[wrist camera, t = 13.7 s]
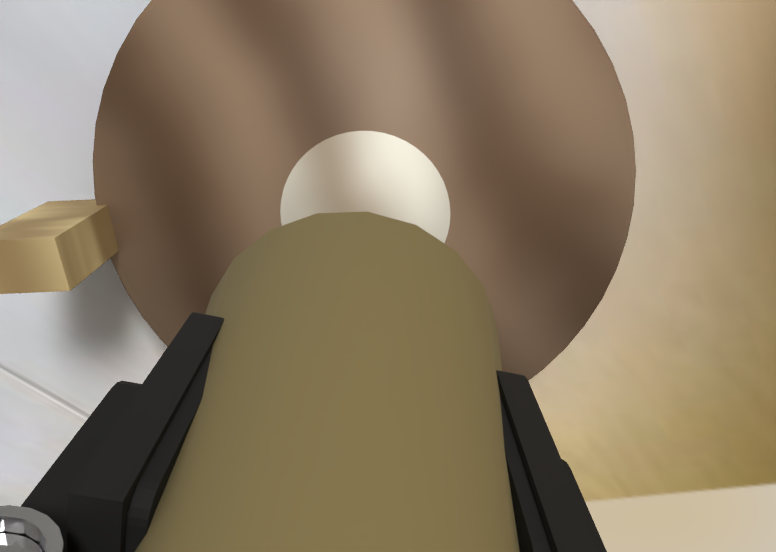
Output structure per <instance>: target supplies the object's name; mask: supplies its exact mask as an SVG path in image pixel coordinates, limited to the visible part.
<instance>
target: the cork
mask: <svg viewBox="0 0 776 552" xmlns="http://www.w3.org/2000/svg"><path fill="white" fill-rule="evenodd" d="M205 314H207V315H212V316H217V317H222V318H224V322H223V324H222V326H221V329H220V331H219V333H218V335H217V338H216V340H215V342H214V344H213V348H212V353H211V358H210V363H209V368H208V373H207V377H206V382H205V387H204V392H203V397H202V400H201V402H200V404H199V407H198V409H197V412H196V414H195V417H194V419H193V421H192V424H191V426H190V429H189V431H188V433H187V436H186V438H185V441H184V443H183V445H182V448H181V450H180V453H179V455H178V458H177V460H176V462H175V465H174V467H173V470H172V472H171V474H170V477H169V479H168V482H167V484H166V487H165V489H164V491H163V494H162V496H161V499H160V501H159V503H158V506H157V508H156V511H155V513H154V516H153V519H152V521H151V524H150V526H149V529H148V532H147V534H146V536H145V537H144V539H143V540H142V541H141V543H140V544H139V546H138V547H137V549H136V550H135V552H520V549H519V542H518V536H517V529H516V522H515V516H514V509H513V502H512V496H511V489H510V483H509V476H508V469H507V463H506V456H505V448H504V436H503V424H502V413H501V401H500V390H499V385H498V379H497V373H496V370H499V371H502V364H501V356H500V348H499V339H498V331H497V325H496V322H495V319H494V316H493V313H492V310H491V307H490V303H489V300H488V297H487V294H486V291H485V288H484V286H483V285H482V283H481V282H480V281H479V279H478V278H477V277H476V276H475V274H474V273H473V272H472V271H471V269H470V268H469V267H468V265H467V264H466V263H465V262H464V260H463V259H462V258H461V256H460V255H459V254H458V253H457V251H455V250H454V249H452V248H451V247H449V246H448V245H446V244H445V243H443V242H442V241H440V240H438V239H437V238H435V237H434V236H432V235H431V234H429V233H428V232H426V231H425V230H423V229H422V228H420V227H419V226H417V225H415V224H411V223H407V222H404V221H400V220H396V219H393V218H389V217H386V216H382V215H378V214H375V213H371V212H340V213H316V214H313V215H311V216H308V217H305V218H302V219H299V220H297V221H294V222H291V223H288V224H285V225H283V226H280V227H277V228H274V229H272V230H269V231H268V232H267V233H266V234H264V235H263V236H262V237H261V238H259V239H258V240H257V241H256V242H254V243H253V244H252V245H251V246H249V247H248V248H247V249H246V250H244V251H243V252H242V253H241V254H239V255H238V256H237V257H236V258H234V259H233V261H232V263H231V264H230V266H229V267H228V269H227V271H226V272H225V274H224V276H223V277H222V279H221V281H220V282H219V284H218V285H217V287H216V289H215V290H214V292H213V294H212V295H211V298H210V301H209V304H208V307H207V310H206V313H205Z"/></svg>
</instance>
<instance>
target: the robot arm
mask: <svg viewBox="0 0 776 552" xmlns="http://www.w3.org/2000/svg"><path fill="white" fill-rule="evenodd" d="M223 322H224V318H222V317H217V316H212V315H207V314H201V313H196V312H192V313H191V314H190V316H189V317H188V319H187V320H186V321H185V323H184V324H183V326H182V327H181V329H180V330H179V332H178V333H177V335H176V336H175V337H174V339H173V340H172V342H171V343H170V345H169V346H168V348H167V349H166V350H165V352H164V353H163V355H162V356H161V358H160V359H159V361H158V362H157V364H156V365H155V366H154V368H153V369H152V371H151V372H150V374H149V375H148V377H147V378H146V380H145V381H144V382H143V384H138V383H132V382H126V381H120V382H117V383H116V384H115V385H114V386H113V387H112V388H111V390H110V391H109V392H108V393H107V395H106V396H105V397H104V399H103V400H102V401H101V403H100V404H99V405H98V406H97V408H96V409H95V410H94V412H93V413H92V414H91V416H90V417H89V418H88V419H87V421H86V422H85V423H84V425H83V426H82V427H81V429H80V430H79V431H78V432H77V434H76V435H75V436H74V438H73V439H72V440H71V442H70V443H69V444H68V446H67V447H66V448H65V449H64V451H63V452H62V453H61V455H60V456H59V457H58V459H57V460H56V461H55V462H54V464H53V465H52V466H51V468H50V469H49V470H48V472H47V473H46V474H45V475H44V477H43V478H42V479H41V481H40V482H39V483H38V485H37V486H36V487H35V488H34V490H33V491H32V492H31V494H30V495H29V496H28V498H27V499H26V500H25V501H24V503H23V504H22V505H21V507H19V506H11V505H7V506H0V552H135V550H136V549H137V547H138V546H139V544H140V543H141V541H142V540H143V539H144V537H145V536H146V534H147V532H148V529H149V526H150V524H151V521H152V519H153V516H154V513H155V511H156V508H157V506H158V503H159V501H160V499H161V496H162V494H163V491H164V489H165V487H166V484H167V482H168V479H169V477H170V474H171V472H172V470H173V467H174V465H175V462H176V460H177V458H178V455H179V453H180V450H181V448H182V445H183V443H184V441H185V438H186V436H187V433H188V431H189V429H190V426H191V424H192V421H193V419H194V417H195V414H196V412H197V409H198V407H199V404H200V402H201V400H202V397H203V392H204V387H205V382H206V377H207V373H208V368H209V363H210V358H211V353H212V348H213V344H214V342H215V340H216V338H217V335H218V333H219V331H220V329H221V326H222V324H223ZM496 373H497V379H498V385H499V390H500V401H501V413H502V424H503V436H504V448H505V456H506V463H507V469H508V476H509V483H510V489H511V496H512V502H513V509H514V516H515V522H516V529H517V536H518V542H519V549H520V552H607V551H606V549H605V547H604V545H603V542H602V540H601V538H600V535H599V533H598V531H597V529H596V527H595V524H594V521H593V519H592V517H591V515H590V513H589V510H588V508H587V505H586V503H585V501H584V498H583V496H582V494H581V492H580V489H579V487H578V485H577V482H576V480H575V478H574V475H573V473H572V471H571V469H570V467H569V465H568V464H567V462H565V461H564V460H562V459H561V458H560V455H559V453H558V450H557V448H556V446H555V443H554V441H553V439H552V436H551V434H550V432H549V429H548V427H547V424H546V422H545V420H544V417H543V415H542V413H541V410H540V408H539V405H538V403H537V401H536V398H535V396H534V394H533V391H532V389H531V387H530V384H529V382H528V379H527V378H526V376H524V375H520V374H515V373H509V372H504V371H499V370H496Z"/></svg>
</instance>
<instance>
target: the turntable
mask: <svg viewBox="0 0 776 552" xmlns="http://www.w3.org/2000/svg"><path fill="white" fill-rule="evenodd" d="M93 172H94V190H95V199H94V200H71V201H49V202H46V203H44V204H42V205H40V206H38V207H36V208H34V209H32V210H30V211H28V212H26V213H24V214H22V215H20V216H18V217H16V218H14V219H12V220H10V221H8V222H7V223H5V224H3V225H1V226H0V294H7V293H31V292H54V291H71V290H72V289H73V288H74V287H75V286H77V285H78V284H79V283H80V282H81V281H83V280H84V279H85V278H86V277H88V276H89V275H90V274H91V273H92V272H94V271H95V270H96V269H97V268H99V267H100V266H101V265H102V264H103V263H105V262H106V261H107V260H108V259H109V258H111V260H112V262H113V264H114V266H115V268H116V271H117V273H118V275H119V277H120V279H121V281H122V283H123V285H124V287H125V289H126V291H127V293H128V294H129V296H130V298H131V299H132V301H133V302H134V304H135V305H136V307H137V309H138V310H139V312H140V313H141V315H142V316H143V318H144V319H145V320H146V322H147V323H148V324H149V325H150V327H151V328H152V329H153V330H154V331H155V333H156V334H157V335H158V336H159V338H160V339H161V340H162V341H163V342H164V343H165V344H166V345H167V346H169V345H170V343H171V342H172V340H173V339H174V337H175V336H176V335H177V333H178V332H179V330H180V329H181V327H182V326H183V324H184V323H185V321H186V320H187V319H188V317H189V316H190V314H191V313H192V312H196V313H201V314H205V313H206V310H207V307H208V304H209V301H210V298H211V295H212V294H213V292H214V290H215V289H216V287H217V285H218V284H219V282H220V281H221V279H222V277H223V276H224V274H225V272H226V271H227V269H228V267H229V266H230V264H231V263H232V261H233V259H234V258H236V257H237V256H238V255H239V254H241V253H242V252H243V251H244V250H246V249H247V248H248V247H249V246H251V245H252V244H253V243H254V242H256V241H257V240H258V239H259V238H261V237H262V236H263V235H264V234H266V233H267V232H268V231H269V230H272V229H274V228H277V227H280V226H283V225H285V224H288V223H291V222H294V221H297V220H299V219H302V218H305V217H308V216H311V215H313V214H316V213H340V212H371V213H375V214H378V215H382V216H386V217H389V218H393V219H396V220H400V221H404V222H407V223H411V224H415V225H417V226H419V227H420V228H422V229H423V230H425V231H426V232H428V233H429V234H431V235H432V236H434V237H435V238H437V239H438V240H440V241H442V242H443V243H445V244H446V245H448V246H449V247H451V248H452V249H454V250H455V251H457V253H458V254H459V255H460V256H461V258H462V259H463V260H464V262H465V263H466V264H467V265H468V267H469V268H470V269H471V271H472V272H473V273H474V274H475V276H476V277H477V278H478V279H479V281H480V282H481V283H482V285H483V286H484V288H485V291H486V294H487V297H488V300H489V303H490V307H491V310H492V313H493V316H494V319H495V322H496V325H497V331H498V339H499V348H500V356H501V364H502V371H504V372H509V373H515V374H520V375H524V376H526V378H527V379H528V380H529V379H531V378H532V377H533V376H535V375H536V374H537V373H539V372H540V371H542V370H543V369H544V368H545V367H546V366H547V365H548V364H549V363H550V362H551V361H552V360H553V359H555V358H556V357H557V356H558V355H559V354H560V353H561V352H562V351H563V350H564V349H565V348H566V347H567V346H568V344H569V343H570V342H571V341H572V340H573V339H574V337H575V336H576V335H577V334H578V333H579V331H580V330H581V329H582V328H583V327H584V325H585V324H586V323H587V321H588V319H589V318H590V316H591V315H592V313H593V312H594V310H595V309H596V307H597V306H598V304H599V303H600V301H601V300H602V298H603V296H604V294H605V292H606V290H607V288H608V286H609V284H610V281H611V279H612V277H613V275H614V273H615V271H616V269H617V266H618V263H619V260H620V257H621V254H622V251H623V248H624V246H625V243H626V240H627V236H628V231H629V226H630V221H631V216H632V211H633V206H634V191H635V176H636V166H635V152H634V138H633V131H632V127H631V122H630V117H629V113H628V108H627V103H626V99H625V96H624V93H623V91H622V88H621V85H620V82H619V80H618V77H617V74H616V72H615V69H614V66H613V64H612V62H611V60H610V58H609V56H608V54H607V52H606V51H605V49H604V47H603V45H602V43H601V41H600V39H599V38H598V36H597V34H596V32H595V30H594V29H593V27H592V26H591V25H590V23H589V22H588V21H587V19H586V18H585V17H584V15H583V14H582V13H581V11H580V10H579V9H578V7H577V6H576V5H575V3H574V2H573V1H572V0H151V2H150V3H149V4H148V6H147V7H146V8H145V9H144V11H143V12H142V13H141V14H140V16H139V17H138V18H137V19H136V21H135V23H134V25H133V26H132V28H131V30H130V32H129V34H128V35H127V37H126V39H125V41H124V42H123V44H122V46H121V48H120V49H119V51H118V53H117V55H116V58H115V61H114V63H113V66H112V68H111V71H110V74H109V76H108V79H107V81H106V84H105V87H104V90H103V94H102V99H101V103H100V107H99V112H98V116H97V121H96V127H95V139H94V151H93Z"/></svg>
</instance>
